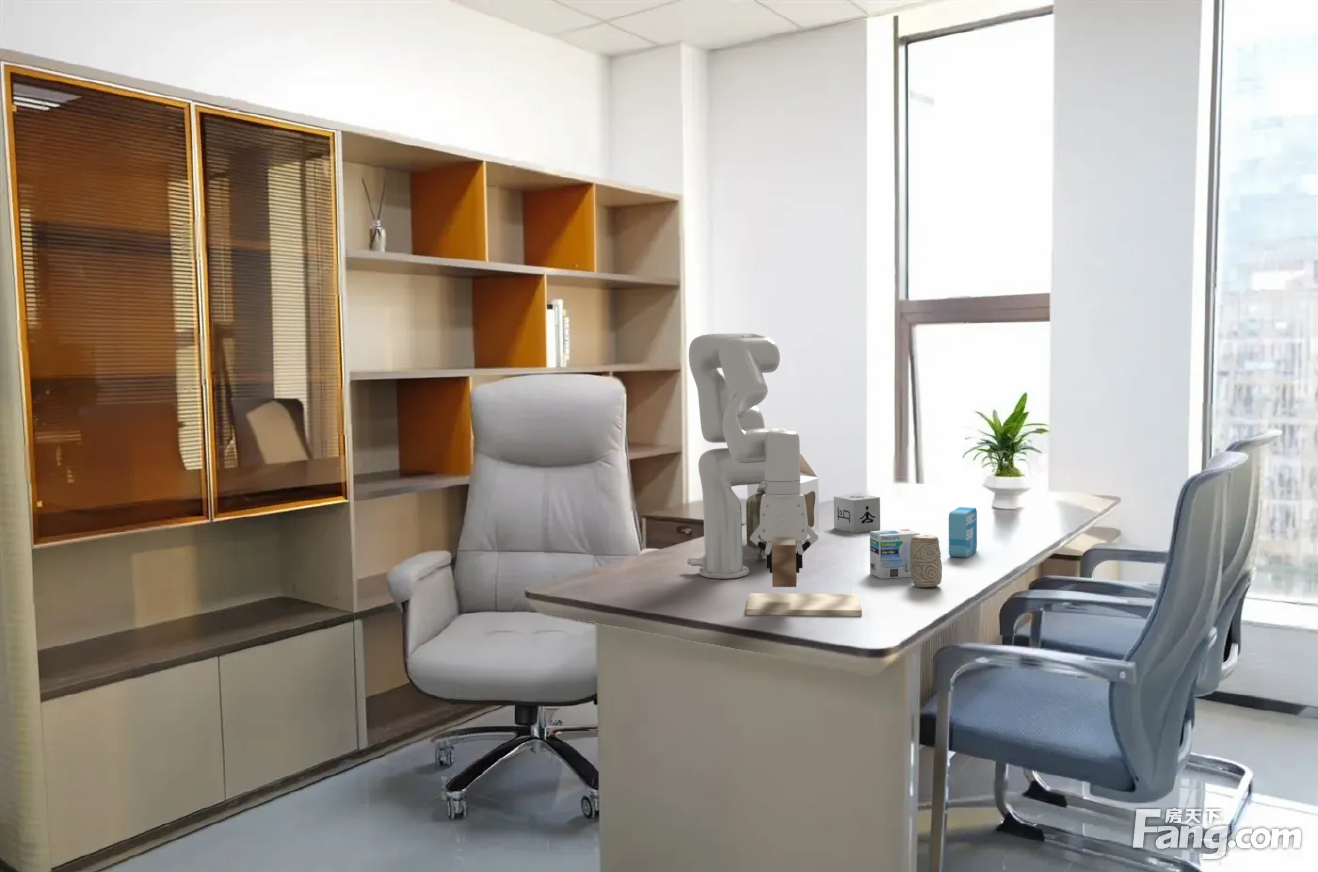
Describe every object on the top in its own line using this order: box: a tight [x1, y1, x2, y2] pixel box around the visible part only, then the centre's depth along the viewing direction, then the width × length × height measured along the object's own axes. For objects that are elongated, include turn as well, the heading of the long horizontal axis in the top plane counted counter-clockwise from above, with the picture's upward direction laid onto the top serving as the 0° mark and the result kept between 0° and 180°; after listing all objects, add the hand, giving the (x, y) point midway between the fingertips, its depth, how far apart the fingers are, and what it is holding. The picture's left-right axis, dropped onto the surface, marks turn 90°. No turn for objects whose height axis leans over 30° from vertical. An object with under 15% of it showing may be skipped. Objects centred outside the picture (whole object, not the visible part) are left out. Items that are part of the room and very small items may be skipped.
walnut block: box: [771, 539, 798, 588], centre depth 214 cm, size 5×9×10 cm, turn 171°
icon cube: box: [833, 493, 881, 533], centre depth 307 cm, size 10×10×10 cm
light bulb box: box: [869, 528, 921, 580], centre depth 242 cm, size 11×7×11 cm, turn 101°
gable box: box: [746, 453, 820, 543], centre depth 292 cm, size 22×13×28 cm, turn 149°
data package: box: [948, 506, 978, 559], centre depth 265 cm, size 12×4×12 cm, turn 149°
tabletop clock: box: [745, 488, 772, 561], centre depth 263 cm, size 14×9×25 cm, turn 168°
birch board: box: [745, 592, 863, 617], centre depth 214 cm, size 24×14×1 cm, turn 81°
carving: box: [909, 533, 943, 588], centre depth 229 cm, size 6×8×12 cm
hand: (784, 570), depth 214 cm, fingers closed on walnut block, 5 cm apart
